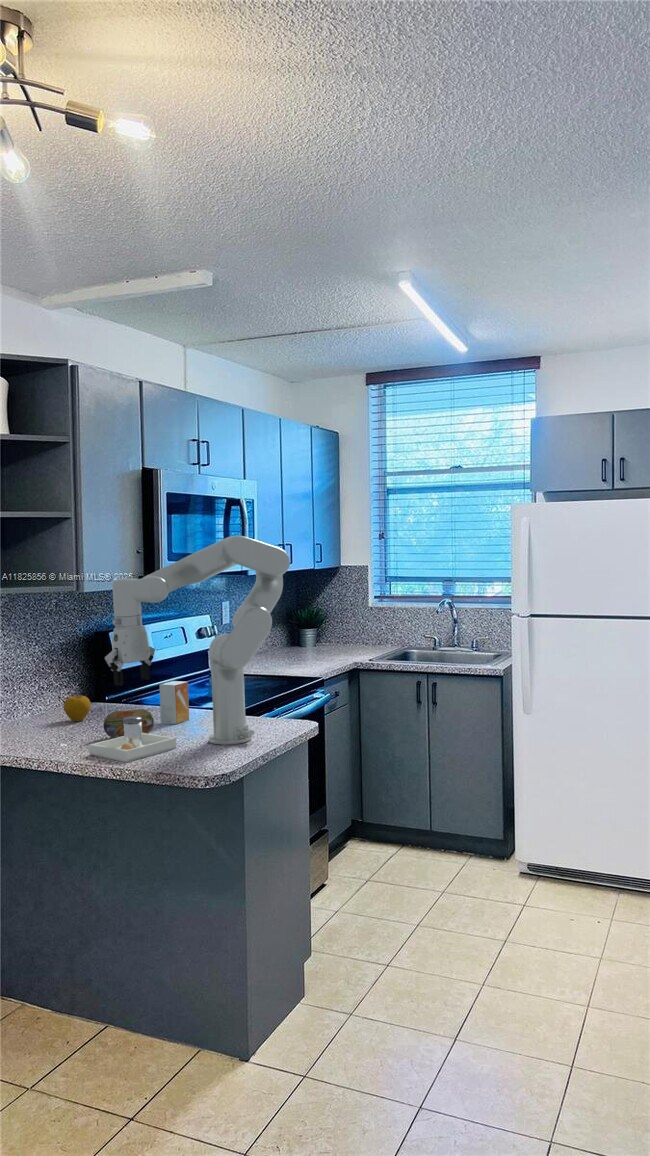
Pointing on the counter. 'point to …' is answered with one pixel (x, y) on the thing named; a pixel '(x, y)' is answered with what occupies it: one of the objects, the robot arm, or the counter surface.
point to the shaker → (133, 731)
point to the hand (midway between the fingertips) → (132, 682)
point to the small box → (174, 702)
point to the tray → (150, 747)
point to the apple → (77, 707)
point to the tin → (116, 725)
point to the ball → (127, 746)
